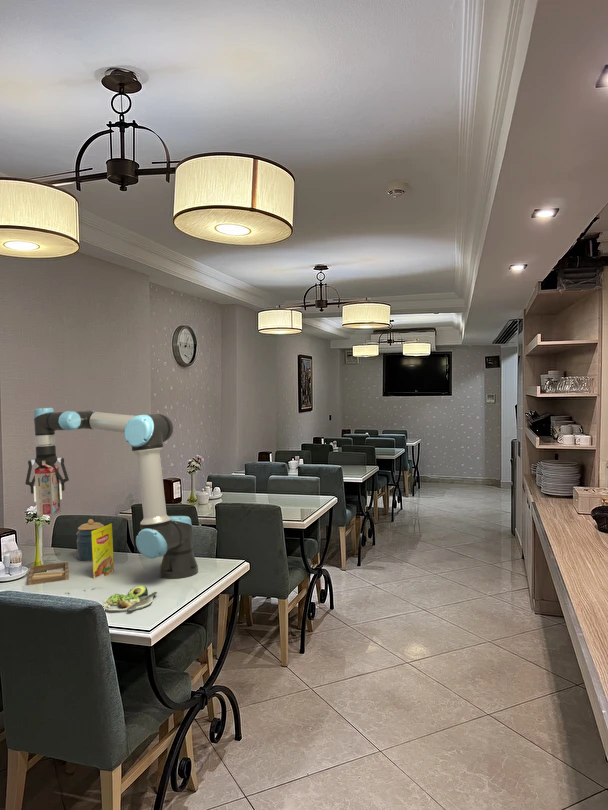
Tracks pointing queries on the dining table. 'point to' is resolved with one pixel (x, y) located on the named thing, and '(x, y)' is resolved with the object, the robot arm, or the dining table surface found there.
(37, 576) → the upper oak offcut
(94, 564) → the food package
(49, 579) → the walnut rack
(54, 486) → the juice carton
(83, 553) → the canister
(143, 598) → the salad plate
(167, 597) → the dining table surface
